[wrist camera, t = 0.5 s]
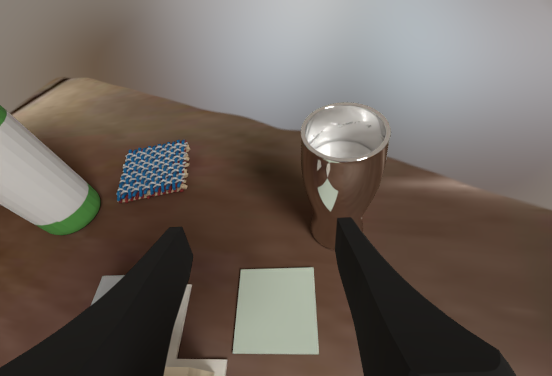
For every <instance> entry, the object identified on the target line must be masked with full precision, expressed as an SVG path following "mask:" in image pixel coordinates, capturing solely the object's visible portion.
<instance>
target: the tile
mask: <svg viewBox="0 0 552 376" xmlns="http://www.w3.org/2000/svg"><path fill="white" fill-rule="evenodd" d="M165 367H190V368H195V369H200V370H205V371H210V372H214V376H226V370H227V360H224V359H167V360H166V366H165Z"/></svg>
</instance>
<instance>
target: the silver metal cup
mask: <svg viewBox="0 0 552 376" xmlns="http://www.w3.org/2000/svg"><path fill="white" fill-rule="evenodd" d="M390 136H391V129H390V126H389V123H388V121H387V120H386V118H385V117H384V116H383V115H382V114H381V113H380V112H378V111H377V110H375V109H373V108H371V107H368V106H365V105H362V104H357V103H335V104H330V105H327V106H324V107H321V108H319V109H317V110H315V111H314V112H312V113H311V114H310V115H309V116H308V117H307V118H306V119H305V121H304V123H303V124H302V127H301V171H302V178H303V183H304V187H305V190H306V193H307V196H308V199H309V201H310V204H311V206H312V209H313V215H312V218H311V223H310V228H311V232H312V235H313V237H314V238H315V239H316V241H317V242H318V243H320V244H321V245H322V246H324V247H326V248H329V249H333V250H335V239H336V227H337V218H344V217H351V218H352V219H353V220H354V221H355V223H356V224H357V226H358V227H359V228H360V230H361V231H362V232H363V221H362V217H363V214H364V213H365V211H366V209H367V208H368V206H369V205H370V203H371V201H372V200H373V198H374V196H375V194H376V192H377V190H378V188H379V186H380V183H381V180H382V177H383V173H384V169H385V164H386V158H387V152H388V144H389V139H390Z"/></svg>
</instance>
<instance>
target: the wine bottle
mask: <svg viewBox="0 0 552 376" xmlns="http://www.w3.org/2000/svg"><path fill="white" fill-rule="evenodd" d="M0 204H1V205H2V206H4V207H6V208H7V209H9V210H11V211H12V212H14V213H16V214H17V215H19V216H21V217H22V218H24V219H26V220H28V221H29V222H31V223H33V224H35V225H37V226H38V227H40V228H42V229H43V230H45V231H47V232H49V233H51V234H55V235H66V234H71V233H74V232H76V231H78V230H80V229H82V228H84V227H85V226H86V225H87V224H89V223H90V222H91V221H92V220H93V219H94V217H95V216H96V214H97V213H98V211H99V208H100V197H99V195H98V193H97V192H96V191H95V190H94V189H93V188H92V187H91V186H90V185H89V184H88V183H87V182H85V180H84V179H82V178H81V177H80V176H79V175H78V174H77V173H76V172H75V171H74V170H72V169H71V168H70V167H69V166H68V165H67V164H66V163H65V162H63V161H62V160H61V159H60V158H59V157H58V156H57V155H56V154H55V153H53V152H52V151H51V150H50V149H49V148H48V147H47V146H46V145H44V144H43V143H42V142H41V141H40V140H39V139H38V138H37V137H36V136H34V135H33V134H32V133H31V132H30V131H29V130H28V129H27V128H25V127H24V126H23V125H22V124H21V123H20V122H19V121H18V120H17V119H15V118H14V117H13V116H12V115H11V114H10V113H9V112H8V111H6V110H5V109H4V108H3V107H2V106H0Z"/></svg>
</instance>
